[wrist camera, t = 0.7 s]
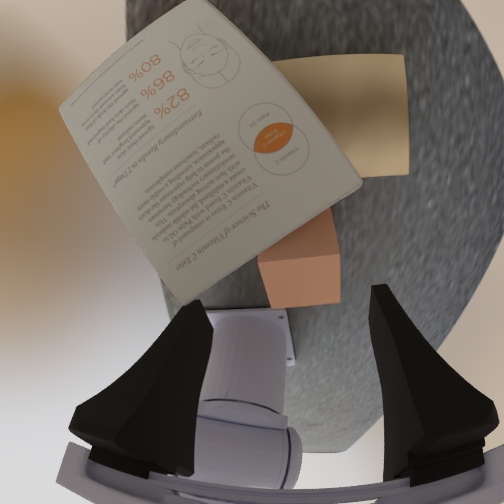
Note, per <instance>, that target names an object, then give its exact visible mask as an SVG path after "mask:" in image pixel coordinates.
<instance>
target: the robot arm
mask: <svg viewBox="0 0 504 504" xmlns="http://www.w3.org/2000/svg"><path fill="white" fill-rule="evenodd" d="M368 319H369V327H370V335H371V342H372V346H373V350H374V355H375V359H376V364H377V369H378V373H379V378H380V383H381V389H382V398H383V412H384V471H383V482H381V483H375V484H368V485H359V486H351V487H340V488H325V489H293V487H294V486H295V484H296V482H297V480H298V477H299V473H300V469H301V463H302V443H301V439H300V437H299V435H298V434H297V432H296V430H295V429H294V428H293V427H288V426H287V422H288V416H285V415H282V413H283V407H284V392H285V376H286V366H293V365H295V356H294V350H293V344H292V339H291V333H290V327H289V322H288V316H287V311H286V309H285V308H278V309H271V308H255V309H234V310H206V311H205V309H204V307H203V305H202V303H201V301H200V300H193V301H192V302H190V303H189V304H188V305H185V306H182V308H181V309H180V310H179V311H178V313H177V314H176V315H175V317H174V318H173V319H172V321H171V322H170V323H169V325H168V326H167V327H166V328H165V330H164V331H163V332H162V333H161V335H160V336H159V337H158V339H157V340H156V341H155V342H154V343H153V344H152V345H151V347H150V348H149V349H148V350H147V351H146V352H145V353H144V355H143V356H142V357H141V358H140V359H139V360H138V361H137V362H136V363H135V364H134V365H133V366H132V367H131V368H130V369H128V371H126V372H125V373H124V374H123V375H122V376H120V377H119V378H118V379H117V380H116V381H114V382H113V383H112V384H111V385H110V386H108V387H107V388H105V389H104V390H102V391H101V392H100V393H98V394H97V395H95V396H93V397H92V398H90V399H89V400H87V401H85V402H83V403H82V404H80V405H78V406H77V407H76V410H75V412H74V415H73V417H72V420H71V422H70V425H69V427H68V428H69V430H70V432H71V433H73V434H74V435H76V436H77V437H79V438H80V439H82V440H84V441H85V442H87V443H89V444H90V445H92V448H91V450H89V449H87V448H85V447H82V446H80V445H77V444H75V443H72V442H69V444H68V446H67V449H66V452H65V455H64V458H63V461H62V464H61V467H60V470H59V473H58V476H57V479H56V482H57V483H58V484H60V485H62V486H63V487H65V488H67V489H69V490H70V491H72V492H74V493H76V494H78V495H80V496H81V497H83V498H85V499H87V500H89V501H91V502H93V503H95V504H338V503H348V502H358V501H366V500H374V499H378V500H376V501H375V503H372V504H500V503H502V502H504V444H503V445H501V446H498V447H496V448H494V449H491V450H489V451H487V452H485V453H483V449H482V447H484V446H485V439H484V437H486V436H487V435H488V434H489V433H491V432H492V431H493V430H494V429H495V428H496V427H497V426H498V424H499V418H498V414H497V410H496V407H495V405H494V402H493V401H492V400H491V399H489V398H488V397H487V396H485V395H484V394H482V393H481V392H480V391H478V390H477V389H475V388H474V387H473V386H472V385H471V384H470V383H468V382H467V381H466V380H465V379H464V378H463V377H461V376H460V375H459V374H458V373H457V372H456V371H455V370H454V369H453V368H452V367H451V366H449V365H448V364H447V362H446V361H445V360H444V359H443V358H442V357H441V356H440V355H439V354H438V353H437V352H436V351H435V350H434V349H433V347H432V346H431V345H430V344H429V343H428V342H427V340H426V339H425V338H424V337H423V335H422V334H421V333H420V332H419V330H418V329H417V328H416V326H415V325H414V324H413V322H412V321H411V320H410V318H409V317H408V315H407V314H406V313H405V311H404V310H403V308H402V307H401V305H400V304H399V302H398V301H397V299H396V298H395V296H394V295H393V293H392V291H391V290H390V288H389V286H388V285H387V284H380V285H371V297H370V308H369V318H368Z"/></svg>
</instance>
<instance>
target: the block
mask: <svg viewBox="0 0 504 504" xmlns="http://www.w3.org/2000/svg"><path fill="white" fill-rule="evenodd" d="M258 266H259V269H260V272H261V276H262V279H263V282H264V286H265V289H266V292H267V295H268V299H269V302H270V305H271V309H278V308H290V307H302V306H312V305H322V304H332V303H340V250H339V245H338V240H337V235H336V230H335V225H334V221H333V216H332V211H331V207H328V208H327V209H325V210H324V211H322V212H321V213H319V214H318V215H316V216H315V217H313V218H312V219H310V220H309V221H307V222H306V223H304V224H303V225H301V226H300V227H298V228H297V229H295V230H294V231H292V232H291V233H289V234H288V235H286V236H285V237H283V238H282V239H280V240H279V241H277V242H276V243H274V244H273V245H271V246H270V247H269V248H267V249H266V250H264V251H263V252H261V253H260V254H258Z"/></svg>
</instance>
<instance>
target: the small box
mask: <svg viewBox="0 0 504 504" xmlns="http://www.w3.org/2000/svg"><path fill="white" fill-rule="evenodd" d="M59 112H60V114H61V116H62V118H63V120H64V122H65V124H66V126H67V127H68V130H69V131H70V133H71V135H72V137H73V139H74V141H75V142H76V144H77V146H78V148H79V149H80V151H81V153H82V155H83V157H84V158H85V160H86V162H87V164H88V166H89V167H90V169H91V171H92V172H93V174H94V175H95V177H96V179H97V181H98V182H99V184H100V186H101V187H102V189H103V191H104V193H105V194H106V196H107V197H108V199H109V200H110V202H111V204H112V205H113V207H114V209H115V210H116V212H117V213H118V215H119V216H120V218H121V220H122V221H123V223H124V224H125V226H126V227H127V229H128V231H129V232H130V233H131V235H132V237H133V238H134V240H135V241H136V243H137V244H138V246H139V247H140V249H141V250H142V251H143V253H144V255H145V256H146V258H147V259H148V260H149V262H150V263H151V265H152V266H153V267H154V269H155V270H156V272H157V273H158V274H159V276H160V277H161V279H162V280H163V281H164V283H165V284H166V285H167V287H168V288H169V290H170V291H171V292H172V293H173V295H174V296H175V298H176V299H177V300H178V301H179V303H180V304H181V305H183V306H185V305H188V304H189V303H190V302H192V301H193V300H195V299H196V298H197V297H199V296H200V295H202V294H203V293H204V292H205V291H206V290H207V289H209V288H210V287H211V286H213V285H214V284H216V283H217V282H218V281H220V280H221V279H223V278H224V277H226V276H227V275H229V274H230V273H231V272H233V271H234V270H236V269H237V268H239V267H240V266H242V265H243V264H245V263H246V262H248V261H249V260H251V259H252V258H254V257H255V256H257V255H258V254H260V253H261V252H263V251H264V250H266V249H267V248H269V247H270V246H271V245H273V244H274V243H276V242H277V241H279V240H280V239H282V238H283V237H285V236H286V235H288V234H289V233H291V232H292V231H294V230H295V229H297V228H298V227H300V226H301V225H303V224H304V223H306V222H307V221H309V220H310V219H312V218H313V217H315V216H316V215H318V214H319V213H321V212H322V211H324V210H325V209H327V208H328V207H330V206H331V205H333V204H335V203H336V202H338V201H339V200H341V199H343V198H345V197H346V196H348V195H350V194H351V193H353V192H354V191H355V190H357V189H358V188H360V187H361V186H362V184H363V181H362V178H361V176H360V175H359V174H358V172H357V171H356V169H355V168H354V166H353V165H352V163H351V162H350V160H349V159H348V158H347V156H346V155H345V153H344V152H343V151H342V149H341V148H340V146H339V145H338V144H337V142H336V141H335V139H334V138H333V137H332V135H331V134H330V133H329V131H328V130H327V129H326V127H325V126H324V125H323V124H322V122H321V121H320V120H319V118H318V117H317V116H316V114H315V113H314V112H313V111H312V109H311V108H310V107H309V106H308V104H307V103H306V102H305V101H304V100H303V98H302V97H301V96H300V95H299V93H298V92H297V91H296V90H295V89H294V88H293V86H292V85H291V84H290V83H289V82H288V80H287V79H286V78H285V77H284V76H283V75H282V74H281V72H280V71H279V70H278V69H277V68H276V67H275V66H274V65H273V64H272V62H271V61H270V60H269V59H268V58H267V57H266V56H265V55H264V54H263V53H262V52H261V51H260V50H259V49H258V48H257V47H256V46H255V45H254V44H253V43H252V42H251V41H250V40H249V39H248V38H247V37H246V36H245V35H244V34H243V33H242V32H241V31H240V30H239V29H238V28H237V27H236V26H235V25H234V24H233V23H232V22H231V21H230V20H229V19H227V18H226V17H225V16H224V15H223V14H222V13H221V12H220V11H219V10H218V9H216V8H215V7H214V6H213V5H212V4H211V3H210V2H209V1H207V0H186V1H184V2H183V3H181V4H179V5H178V6H176V7H175V8H173V9H172V10H170V11H169V12H167V13H166V14H164V15H163V16H161V17H160V18H158V19H157V20H155V21H154V22H153V23H151V24H150V25H148V26H147V27H146V28H144V29H143V30H142V31H141V32H139V33H138V34H137V35H135V36H134V37H133V38H132V39H130V40H129V41H128V42H127V43H125V44H124V45H123V46H122V47H121V48H119V49H118V50H117V51H116V52H114V53H113V54H112V55H111V56H110V57H109V58H108V59H107V60H105V61H104V62H103V63H102V64H101V65H100V66H99V67H98V68H97V69H96V70H95V71H94V72H92V74H90V76H89V77H87V78H86V80H84V82H82V83H81V84H80V85H79V86H78V88H77V89H76V90H75V91H74V92H73V93H72V94H71V95H70V96H69V97H68V98H67V99H66V100H65V101H64V102H63V104H62V105H61V106H60V108H59Z"/></svg>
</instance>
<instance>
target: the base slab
mask: <svg viewBox="0 0 504 504" xmlns="http://www.w3.org/2000/svg"><path fill="white" fill-rule="evenodd" d="M272 64H273V65H274V66H275V67H276V68H277V69H278V70H279V71H280V72H281V74H282V75H283V76H284V77H285V78H286V79H287V80H288V82H289V83H290V84H291V85H292V86H293V88H294V89H295V90H296V91H297V92H298V93H299V95H300V96H301V97H302V98H303V100H304V101H305V102H306V103H307V104H308V106H309V107H310V108H311V109H312V111H313V112H314V113H315V114H316V116H317V117H318V118H319V120H320V121H321V122H322V124H323V125H324V126H325V127H326V129H327V130H328V131H329V133H330V134H331V135H332V137H333V138H334V139H335V141H336V142H337V144H338V145H339V146H340V148H341V149H342V151H343V152H344V153H345V155H346V156H347V158H348V159H349V160H350V162H351V163H352V165H353V166H354V168H355V169H356V171H357V172H358V174H359V175H360V176H361V178H362V177H376V176H392V175H409V115H408V97H407V84H406V73H405V64H404V55H399V54H341V55H325V56H313V57H303V58H294V59H286V60H279V61H272Z"/></svg>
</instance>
